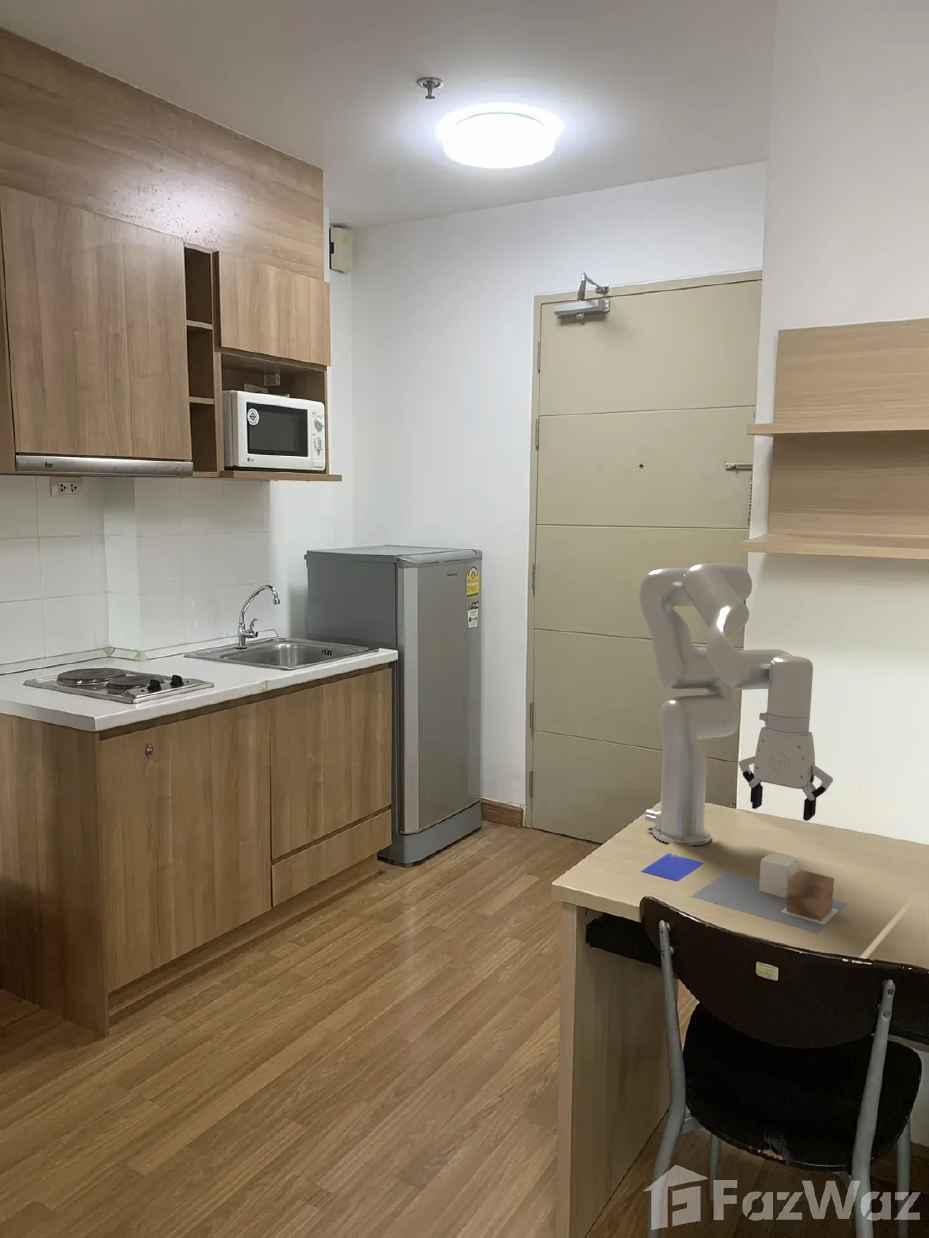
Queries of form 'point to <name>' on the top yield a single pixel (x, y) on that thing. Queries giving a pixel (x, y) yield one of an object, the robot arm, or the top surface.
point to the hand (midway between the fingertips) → (781, 812)
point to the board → (759, 901)
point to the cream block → (776, 874)
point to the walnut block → (810, 895)
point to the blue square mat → (672, 867)
